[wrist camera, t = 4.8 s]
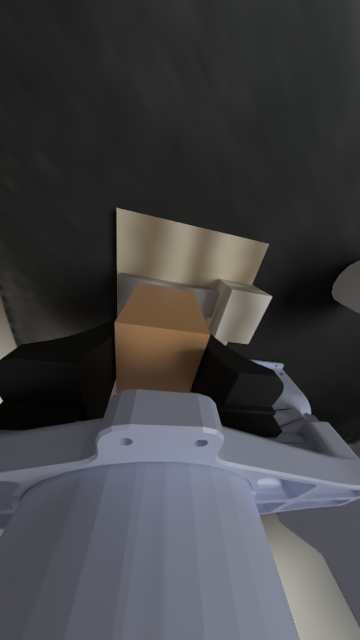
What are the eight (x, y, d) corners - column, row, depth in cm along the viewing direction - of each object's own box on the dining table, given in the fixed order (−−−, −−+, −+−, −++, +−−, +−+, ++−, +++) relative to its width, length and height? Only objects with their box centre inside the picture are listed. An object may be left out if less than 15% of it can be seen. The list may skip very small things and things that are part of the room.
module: (193, 291, 13) (210, 334, 7) (179, 347, 16) (184, 407, 10) (139, 282, 12) (114, 322, 7) (136, 342, 15) (116, 403, 10)
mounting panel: (264, 243, 18) (298, 245, 13) (209, 378, 29) (216, 405, 24) (119, 209, 16) (97, 197, 11) (119, 370, 27) (108, 399, 22)
